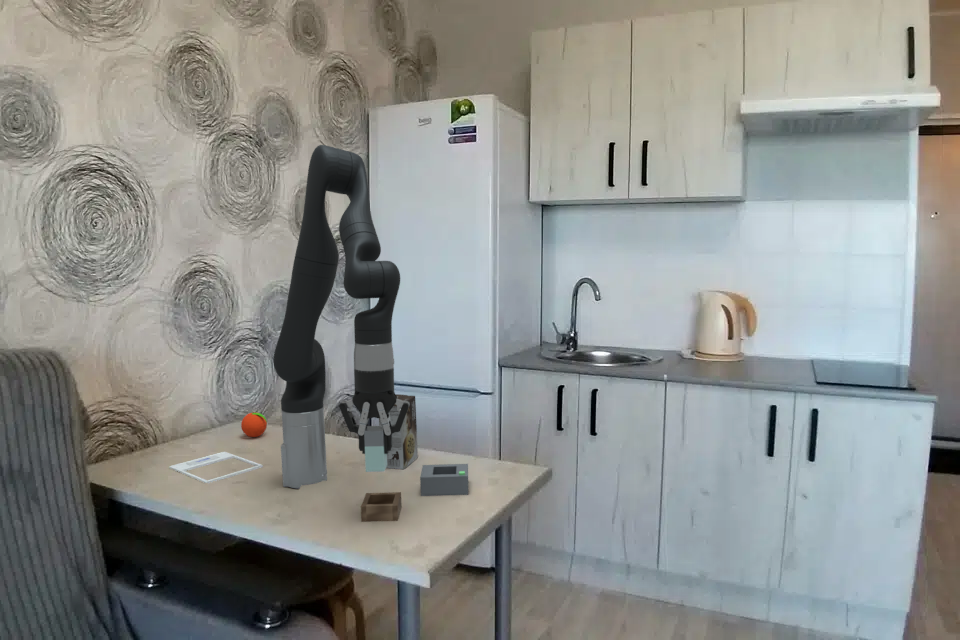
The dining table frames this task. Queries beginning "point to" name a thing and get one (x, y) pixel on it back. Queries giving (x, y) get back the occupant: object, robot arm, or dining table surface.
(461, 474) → the port
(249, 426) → the clementine
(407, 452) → the coffee box
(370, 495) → the wooden box
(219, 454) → the photo frame
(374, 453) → the plug
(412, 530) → the dining table surface
